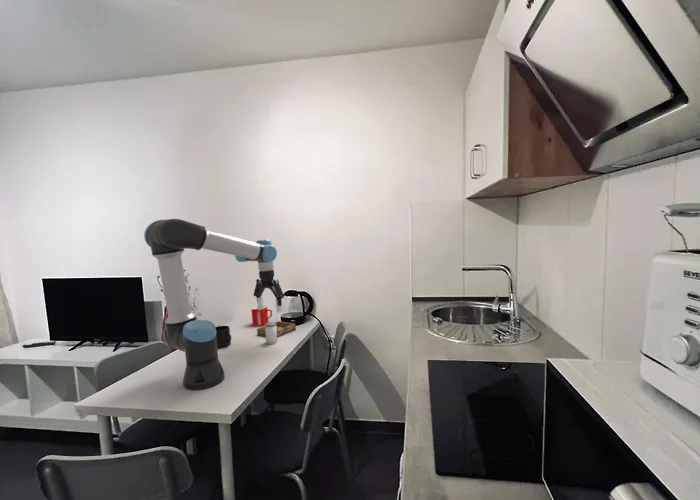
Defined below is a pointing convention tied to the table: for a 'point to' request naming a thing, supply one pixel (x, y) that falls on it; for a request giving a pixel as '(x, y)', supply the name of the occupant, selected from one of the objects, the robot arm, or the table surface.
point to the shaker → (271, 333)
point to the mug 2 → (260, 316)
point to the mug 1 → (223, 336)
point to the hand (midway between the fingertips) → (269, 310)
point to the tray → (279, 329)
